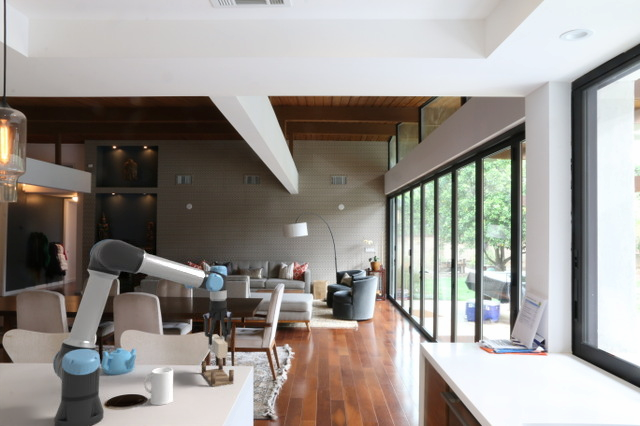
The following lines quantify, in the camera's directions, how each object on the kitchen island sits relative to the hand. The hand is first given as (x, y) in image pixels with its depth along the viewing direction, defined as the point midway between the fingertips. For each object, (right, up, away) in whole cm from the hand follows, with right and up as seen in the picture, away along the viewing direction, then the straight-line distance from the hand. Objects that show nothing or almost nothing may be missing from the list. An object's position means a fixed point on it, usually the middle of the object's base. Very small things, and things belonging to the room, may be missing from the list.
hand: (217, 351), depth 204 cm
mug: (-17, -11, -29) cm, 35 cm away
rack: (0, -12, -1) cm, 12 cm away
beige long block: (0, -1, 0) cm, 1 cm away
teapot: (-49, -13, +9) cm, 52 cm away
